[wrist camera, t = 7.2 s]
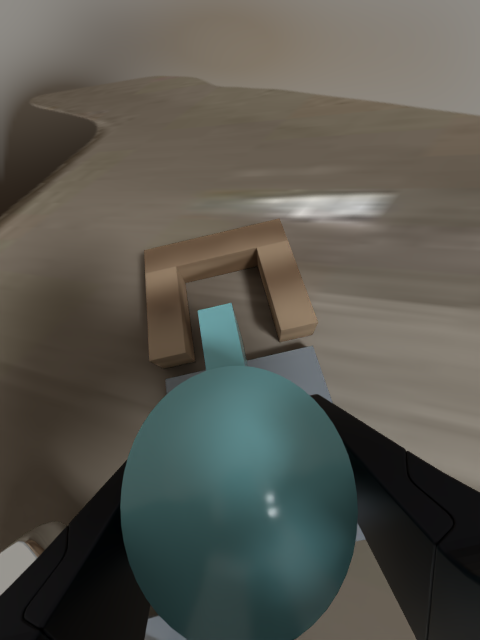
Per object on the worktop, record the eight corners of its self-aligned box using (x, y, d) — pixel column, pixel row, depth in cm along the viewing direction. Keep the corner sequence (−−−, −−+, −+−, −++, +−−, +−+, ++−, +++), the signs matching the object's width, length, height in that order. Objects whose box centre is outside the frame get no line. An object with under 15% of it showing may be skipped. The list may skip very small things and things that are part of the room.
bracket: (312, 334, 19) (318, 322, 17) (163, 368, 19) (149, 360, 17) (278, 239, 23) (279, 218, 21) (156, 267, 23) (144, 250, 21)
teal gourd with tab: (312, 492, 13) (405, 622, 4) (220, 512, 13) (118, 683, 4) (273, 350, 17) (279, 256, 8) (200, 367, 17) (122, 293, 8)
